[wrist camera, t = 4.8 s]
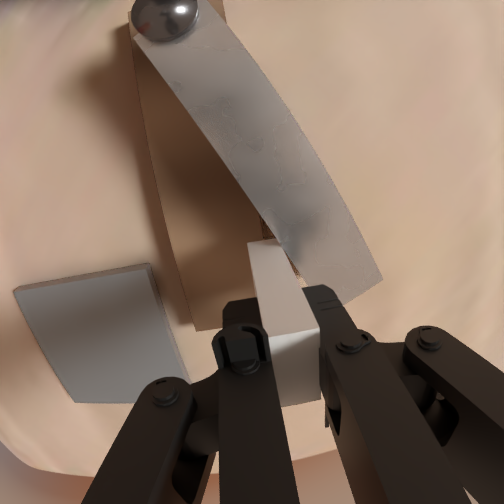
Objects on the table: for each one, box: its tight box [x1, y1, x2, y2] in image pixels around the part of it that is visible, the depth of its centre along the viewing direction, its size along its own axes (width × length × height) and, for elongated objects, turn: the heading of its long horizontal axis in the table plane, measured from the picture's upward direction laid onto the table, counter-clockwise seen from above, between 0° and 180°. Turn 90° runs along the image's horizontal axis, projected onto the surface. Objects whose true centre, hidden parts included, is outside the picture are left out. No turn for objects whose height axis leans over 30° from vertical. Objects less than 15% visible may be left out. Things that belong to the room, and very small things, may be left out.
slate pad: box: [13, 263, 192, 403], centre depth 18 cm, size 10×10×1 cm
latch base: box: [128, 0, 263, 332], centre depth 14 cm, size 17×4×1 cm, turn 10°
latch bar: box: [131, 0, 383, 305], centre depth 12 cm, size 15×3×3 cm, turn 34°
